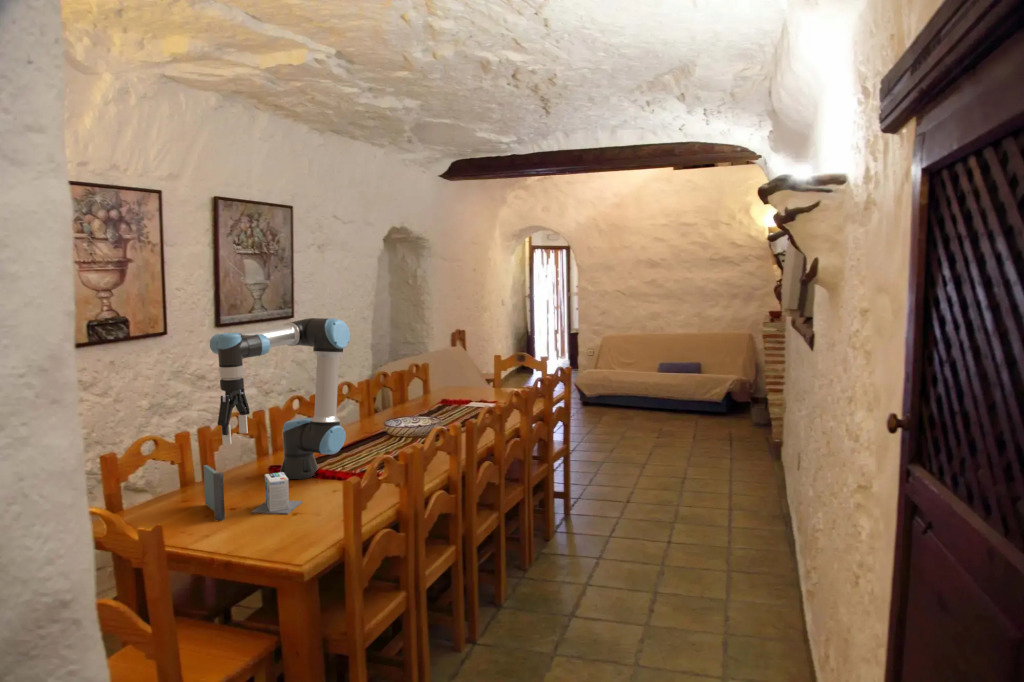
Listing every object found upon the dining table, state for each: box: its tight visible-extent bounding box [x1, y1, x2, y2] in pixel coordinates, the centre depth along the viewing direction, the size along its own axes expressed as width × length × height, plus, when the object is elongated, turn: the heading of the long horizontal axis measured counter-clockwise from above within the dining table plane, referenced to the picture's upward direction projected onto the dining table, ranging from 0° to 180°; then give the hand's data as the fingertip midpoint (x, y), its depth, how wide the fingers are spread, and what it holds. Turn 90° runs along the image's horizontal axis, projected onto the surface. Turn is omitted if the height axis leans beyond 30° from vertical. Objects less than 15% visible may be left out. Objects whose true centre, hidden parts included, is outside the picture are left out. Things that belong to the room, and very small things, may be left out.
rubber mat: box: [251, 500, 304, 516], centre depth 252 cm, size 13×13×1 cm
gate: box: [203, 464, 218, 513], centre depth 248 cm, size 18×1×14 cm, turn 39°
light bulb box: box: [264, 471, 290, 512], centre depth 252 cm, size 11×7×11 cm, turn 28°
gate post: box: [213, 471, 226, 522], centre depth 239 cm, size 2×2×16 cm
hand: (235, 438), depth 247 cm, fingers open, 13 cm apart
